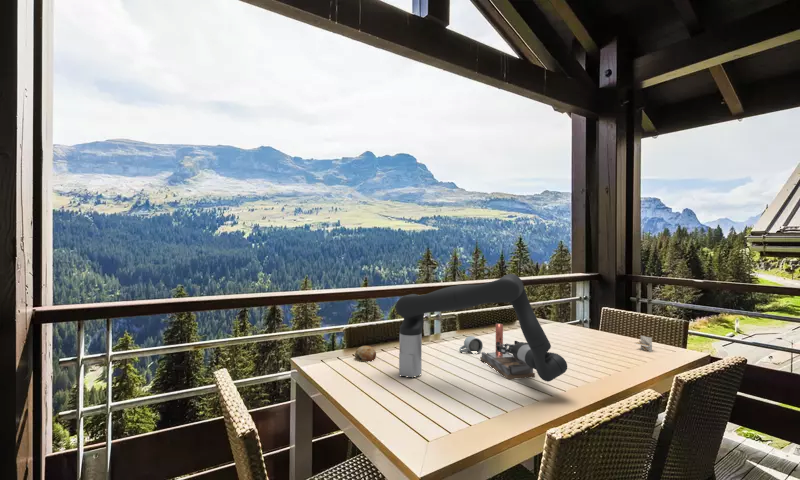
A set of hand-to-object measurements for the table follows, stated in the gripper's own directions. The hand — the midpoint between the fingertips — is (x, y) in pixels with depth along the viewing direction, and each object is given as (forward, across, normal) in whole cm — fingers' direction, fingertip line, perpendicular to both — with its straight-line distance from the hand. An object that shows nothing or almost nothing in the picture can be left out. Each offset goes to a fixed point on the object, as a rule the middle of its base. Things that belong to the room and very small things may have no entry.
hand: (506, 343), depth 171 cm
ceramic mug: (+27, +5, +11) cm, 30 cm away
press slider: (+7, 0, +9) cm, 11 cm away
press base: (0, 0, +11) cm, 11 cm away
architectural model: (+10, -83, +12) cm, 84 cm away
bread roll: (+28, +58, +12) cm, 65 cm away
